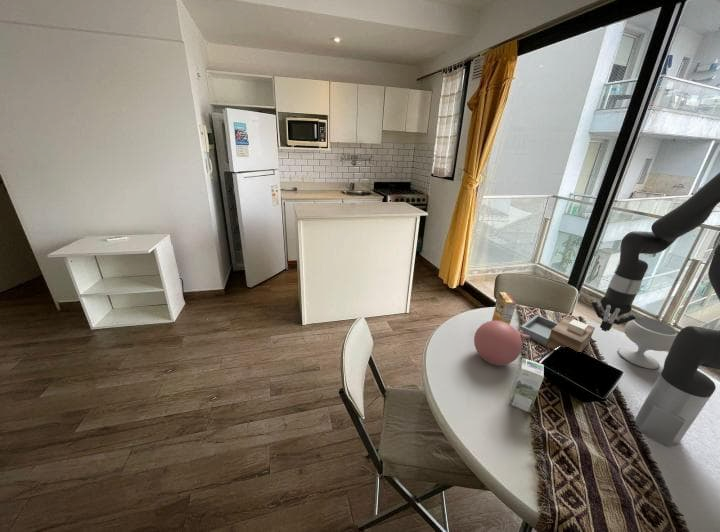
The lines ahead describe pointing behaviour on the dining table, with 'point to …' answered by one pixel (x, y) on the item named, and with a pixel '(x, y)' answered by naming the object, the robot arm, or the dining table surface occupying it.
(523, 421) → the dining table surface
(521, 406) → the syrup box
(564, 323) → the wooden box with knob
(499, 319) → the candy box
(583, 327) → the tile
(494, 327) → the pink egg-shaped ball
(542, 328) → the box
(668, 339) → the chalice
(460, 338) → the dining table surface
